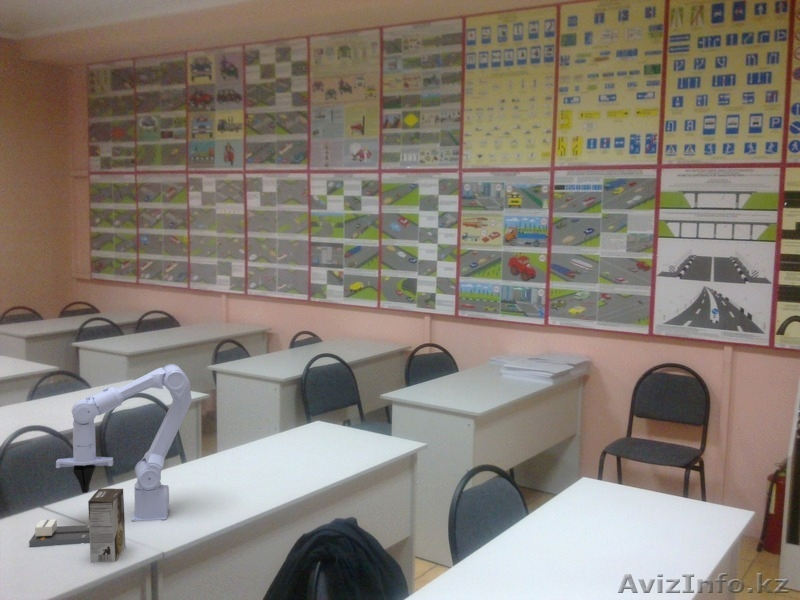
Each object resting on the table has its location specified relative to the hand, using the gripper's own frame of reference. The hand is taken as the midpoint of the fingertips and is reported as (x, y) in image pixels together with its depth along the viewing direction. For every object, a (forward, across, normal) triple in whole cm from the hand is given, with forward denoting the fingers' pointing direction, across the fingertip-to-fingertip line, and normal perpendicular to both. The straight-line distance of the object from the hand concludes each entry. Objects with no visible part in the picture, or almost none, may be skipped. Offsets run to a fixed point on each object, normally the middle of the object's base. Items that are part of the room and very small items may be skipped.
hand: (85, 491), depth 210 cm
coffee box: (+10, -10, +22) cm, 26 cm away
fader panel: (+9, +3, +9) cm, 13 cm away
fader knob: (+8, +8, +9) cm, 14 cm away
